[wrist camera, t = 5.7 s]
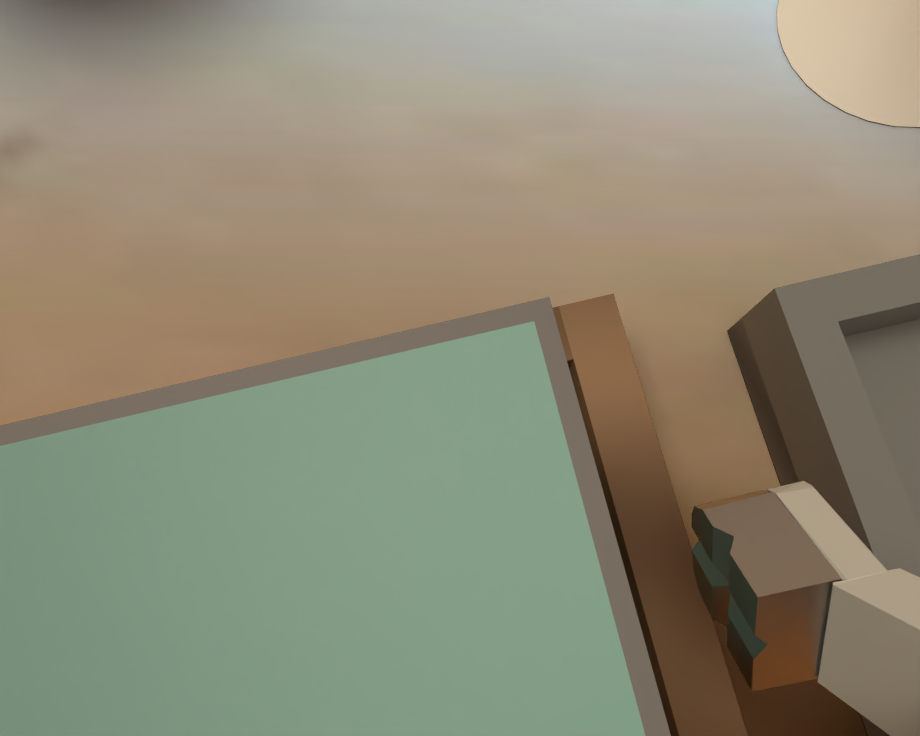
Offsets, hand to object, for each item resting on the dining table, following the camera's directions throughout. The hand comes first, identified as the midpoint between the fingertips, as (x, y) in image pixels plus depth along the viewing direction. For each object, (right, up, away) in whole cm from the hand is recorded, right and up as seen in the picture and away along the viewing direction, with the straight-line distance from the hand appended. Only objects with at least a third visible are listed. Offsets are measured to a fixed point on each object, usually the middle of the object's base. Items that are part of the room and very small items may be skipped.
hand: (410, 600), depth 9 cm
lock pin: (0, -2, +7) cm, 7 cm away
